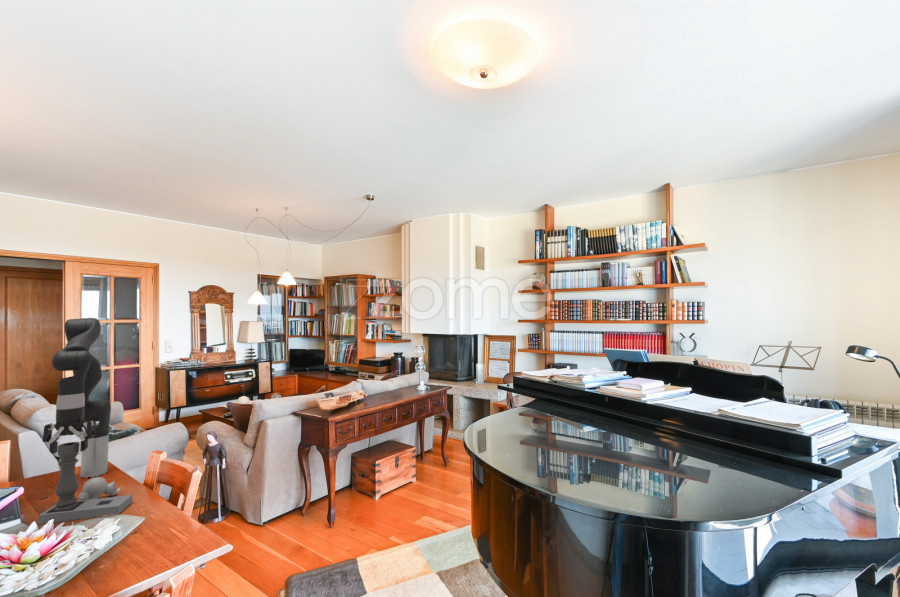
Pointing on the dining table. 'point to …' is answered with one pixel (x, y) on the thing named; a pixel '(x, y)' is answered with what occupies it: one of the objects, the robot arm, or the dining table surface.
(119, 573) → the dining table surface
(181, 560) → the dining table surface
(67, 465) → the candle holder
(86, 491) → the toy rhinoceros
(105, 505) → the hole board
